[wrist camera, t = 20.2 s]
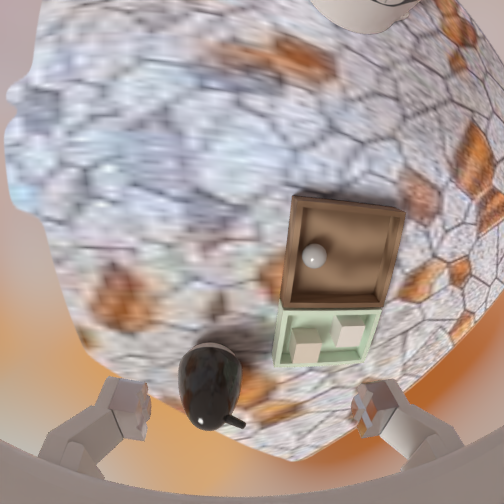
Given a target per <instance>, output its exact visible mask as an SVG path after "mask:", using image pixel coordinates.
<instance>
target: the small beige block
mask: <svg viewBox="0 0 504 504" xmlns="http://www.w3.org/2000/svg"><path fill="white" fill-rule="evenodd" d="M364 329H365V324H364V323H363V321H362V320H361V318H360V317H359V315H333V320H332V324H331V327H330V331H329V334H330V336H331V338H332V340H333V342H334V344H335V346H336V348H337V347H354V346H359V344H360V341H361V338H362V335H363V332H364Z"/></svg>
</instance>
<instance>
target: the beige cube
mask: <svg viewBox="0 0 504 504" xmlns="http://www.w3.org/2000/svg"><path fill="white" fill-rule="evenodd" d="M321 346H322V341H321V339H320V336H319V334H318V332H317V329H316V328H292V331H291V337H290V342H289V347H288V348H289V352H290V356H291V359H292V363H317V361H318V358H319V354H320V350H321Z"/></svg>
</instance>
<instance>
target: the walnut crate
mask: <svg viewBox="0 0 504 504" xmlns="http://www.w3.org/2000/svg"><path fill="white" fill-rule="evenodd" d="M405 215H406V213H405V212H403V211H401V210H399V209H397V208H395V207H390V206H382V205H375V204H367V203H359V202H350V201H342V200H333V199H323V198H313V197H302V196H292V201H291V211H290V219H289V228H288V237H287V245H286V253H285V261H284V269H283V277H282V285H281V292H280V297H281V300H282V304H283V307H286V308H359V307H383V305H384V302H385V298H386V295H387V291H388V288H389V284H390V281H391V277H392V273H393V269H394V265H395V261H396V257H397V253H398V248H399V244H400V240H401V235H402V230H403V225H404V220H405ZM313 243H315V244H319V245H321V246H323V247H324V249H325V250H326V253H327V259H326V262H325V263H324V265H323V266H321V267H320V268H316V269H312V268H309V267H307V266H306V265H305V264H304V262H303V260H302V253H303V250H304V248H305V247H306V246H308V245H310V244H313Z"/></svg>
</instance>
